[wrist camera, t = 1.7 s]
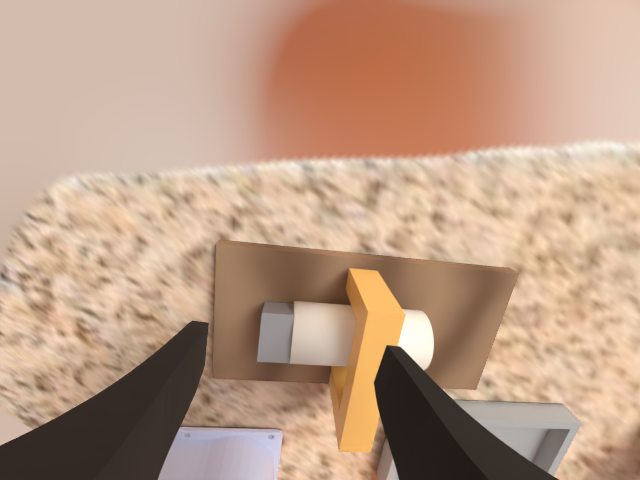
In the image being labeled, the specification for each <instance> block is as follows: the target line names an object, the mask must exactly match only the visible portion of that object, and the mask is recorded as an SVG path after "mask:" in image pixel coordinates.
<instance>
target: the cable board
mask: <svg viewBox="0 0 640 480" xmlns="http://www.w3.org/2000/svg"><path fill="white" fill-rule="evenodd" d="M349 268H353V269H364V270H375V271H378V272H379V274H380V276H381V277H382V279H383V280H384V282H385V283H386V285H387V286H388V288H389V290H390V291H391V293H392V294H393V296H394V297H395V299H396V300H397V302H398V304H399V305H400V307H401V308H402V309H408V310H420V311H423V312H424V313H425V314H426V315H427V317H428V319H429V321H430V323H431V327H432V331H433V338H434V350H433V356H432V360H431V363H430V365H429V366H428V368H427V369H425V370H424V371H425V372H426V373H427V374H428V375H429V377H430V378H431V379H432V380H433V381H434V382H435V383H436V384H437V385H438V386H439V387H440V388H447V389H470V390H476V388H477V385H478V383H479V380H480V377H481V375H482V372H483V369H484V367H485V364H486V361H487V358H488V356H489V353H490V350H491V348H492V345H493V342H494V340H495V337H496V334H497V332H498V329H499V326H500V323H501V321H502V318H503V315H504V313H505V310H506V307H507V305H508V302H509V299H510V296H511V294H512V291H513V288H514V286H515V283H516V280H517V278H518V275H519V273H517V272H515V271H514V270H512V269H510V268H503V267H492V266H482V265H472V264H462V263H452V262H441V261H431V260H421V259H411V258H401V257H390V256H380V255H370V254H360V253H349V252H339V251H329V250H319V249H309V248H298V247H288V246H278V245H268V244H258V243H247V242H237V241H227V240H219V241H218V243H217V244H216V268H215V303H214V339H213V375H212V378H216V379H239V380H262V381H285V382H308V383H329V379H330V373H331V368H332V366H324V365H304V364H289V363H274V362H257V356H258V346H259V336H260V326H261V316H262V311H263V307H264V304H265V302H276V303H289V304H293V303H294V301H303V302H316V303H329V304H342V305H351V303H350V300H349V297H348V295H347V292H346V284H347V278H348V272H349Z"/></svg>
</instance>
